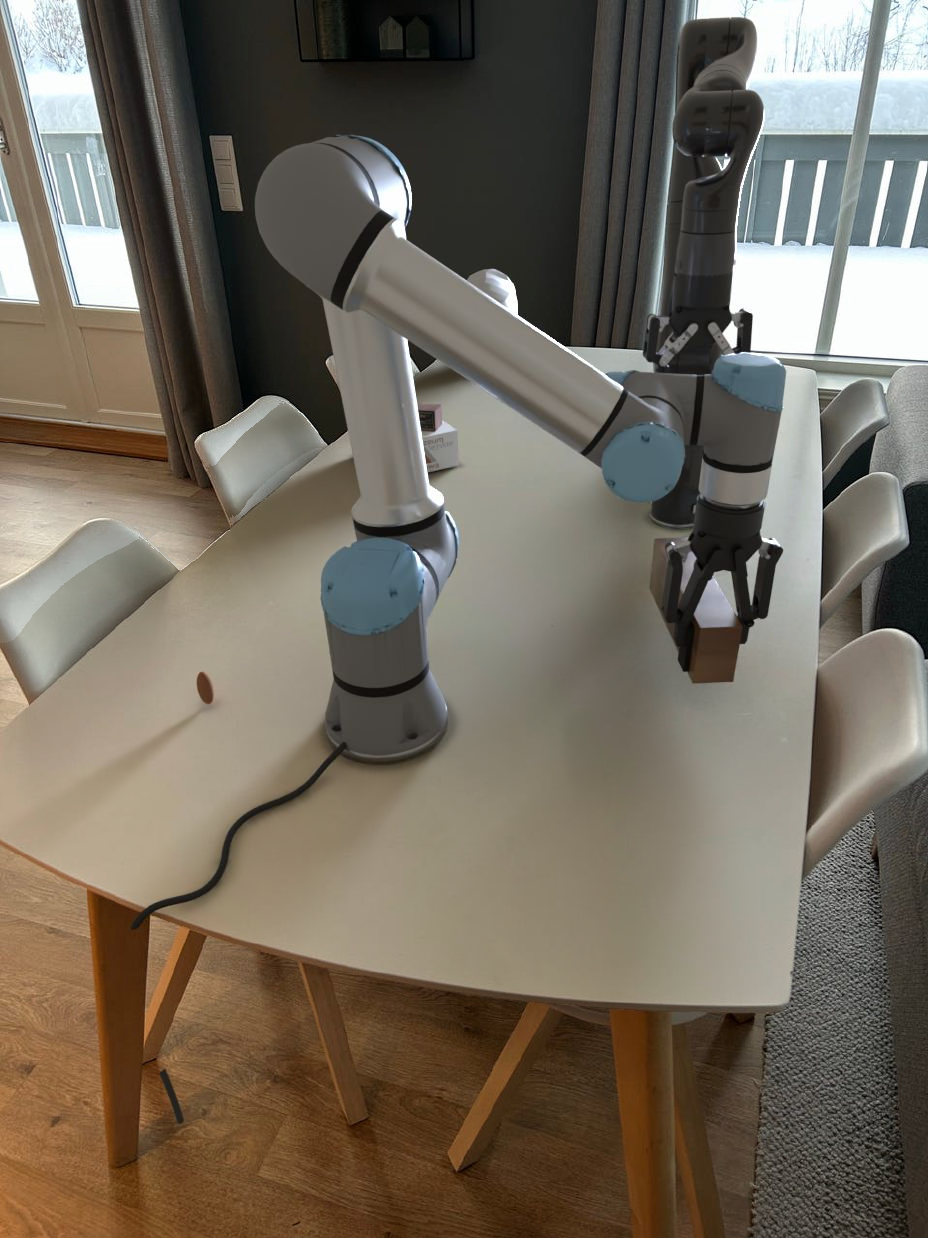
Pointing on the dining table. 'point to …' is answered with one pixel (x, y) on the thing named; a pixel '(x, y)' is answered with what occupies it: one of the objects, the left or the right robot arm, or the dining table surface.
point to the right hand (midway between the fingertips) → (692, 389)
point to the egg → (205, 687)
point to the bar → (701, 620)
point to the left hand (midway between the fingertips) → (706, 664)
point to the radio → (437, 438)
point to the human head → (496, 287)
